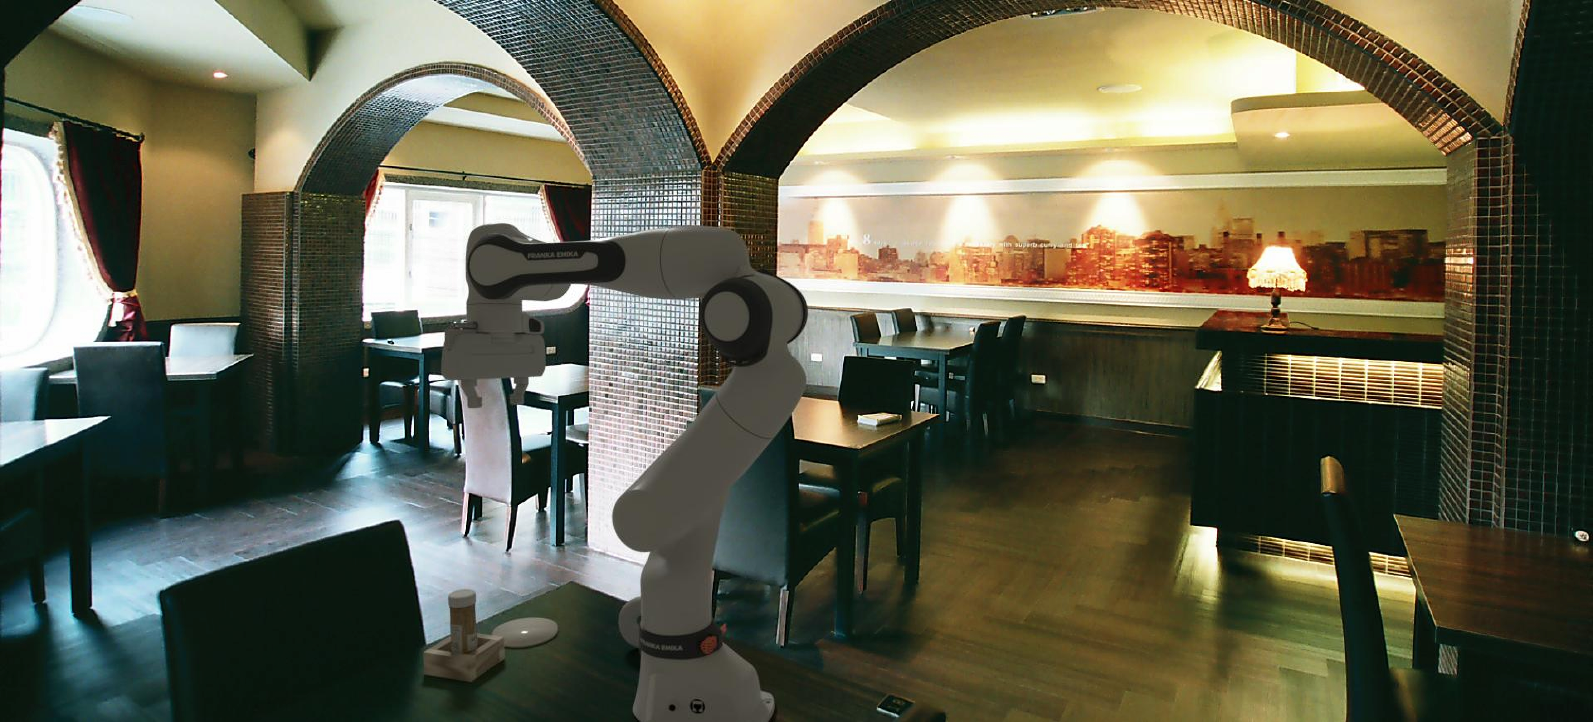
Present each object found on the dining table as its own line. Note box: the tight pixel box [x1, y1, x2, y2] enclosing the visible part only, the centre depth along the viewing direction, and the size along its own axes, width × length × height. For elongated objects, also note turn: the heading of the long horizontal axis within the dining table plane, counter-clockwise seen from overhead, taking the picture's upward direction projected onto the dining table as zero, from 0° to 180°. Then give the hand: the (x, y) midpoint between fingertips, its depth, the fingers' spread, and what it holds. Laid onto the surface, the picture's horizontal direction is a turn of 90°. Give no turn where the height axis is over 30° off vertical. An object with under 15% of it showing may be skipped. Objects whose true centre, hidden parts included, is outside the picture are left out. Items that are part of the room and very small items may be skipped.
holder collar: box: [422, 632, 506, 683], centre depth 160 cm, size 10×10×4 cm
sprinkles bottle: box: [447, 588, 478, 655], centre depth 160 cm, size 5×5×14 cm
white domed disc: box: [491, 617, 559, 648], centre depth 174 cm, size 12×12×1 cm
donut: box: [617, 595, 641, 649], centre depth 167 cm, size 10×4×10 cm, turn 82°
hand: (496, 406), depth 151 cm, fingers open, 8 cm apart
